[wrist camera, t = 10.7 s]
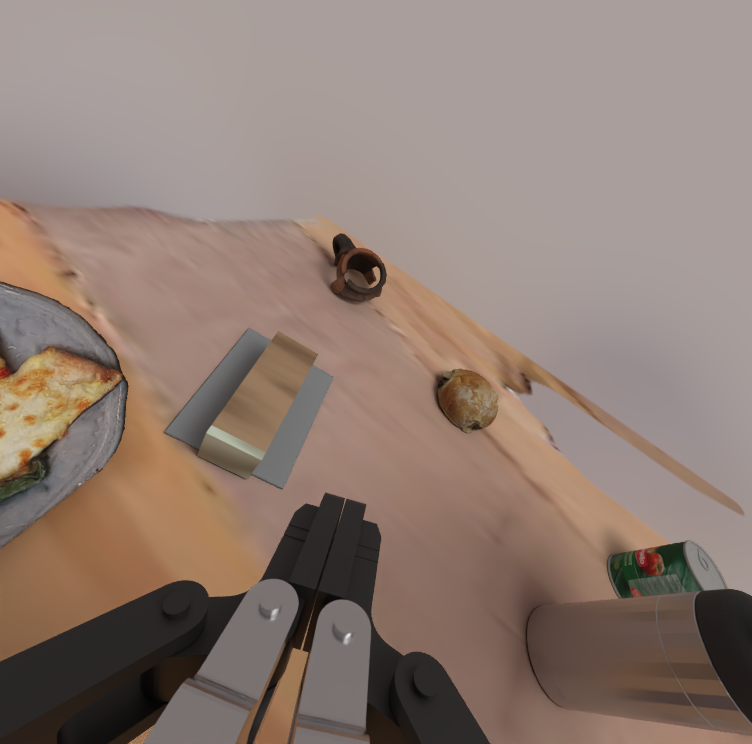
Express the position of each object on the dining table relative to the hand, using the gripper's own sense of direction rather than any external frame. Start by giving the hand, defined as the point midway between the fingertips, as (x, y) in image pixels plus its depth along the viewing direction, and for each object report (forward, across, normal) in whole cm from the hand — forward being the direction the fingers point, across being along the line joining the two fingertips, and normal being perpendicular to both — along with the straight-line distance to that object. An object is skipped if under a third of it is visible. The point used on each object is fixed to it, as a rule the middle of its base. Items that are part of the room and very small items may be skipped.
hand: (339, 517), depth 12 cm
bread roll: (+44, -12, +11) cm, 47 cm away
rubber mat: (+24, +12, +9) cm, 29 cm away
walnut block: (+15, +11, +11) cm, 22 cm away
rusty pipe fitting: (+50, +11, -2) cm, 51 cm away
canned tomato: (+35, -44, +29) cm, 63 cm away
